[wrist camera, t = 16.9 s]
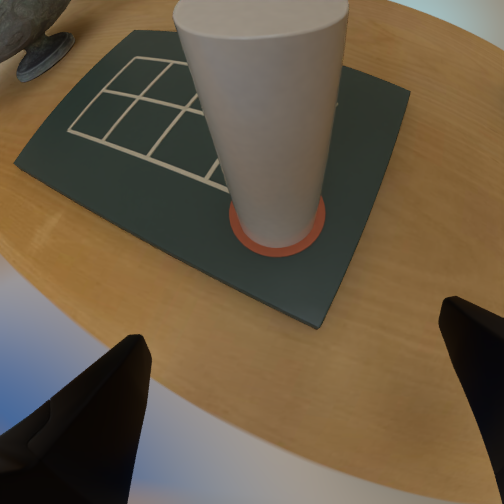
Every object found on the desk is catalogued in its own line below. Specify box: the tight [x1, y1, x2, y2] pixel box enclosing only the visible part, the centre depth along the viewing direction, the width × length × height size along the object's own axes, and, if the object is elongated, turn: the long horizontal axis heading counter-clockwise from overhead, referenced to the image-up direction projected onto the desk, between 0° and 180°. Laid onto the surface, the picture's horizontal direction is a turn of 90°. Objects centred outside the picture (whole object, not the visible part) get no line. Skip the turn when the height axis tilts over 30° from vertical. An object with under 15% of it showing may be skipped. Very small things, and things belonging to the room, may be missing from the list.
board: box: [14, 30, 410, 329], centre depth 23 cm, size 20×30×1 cm, turn 62°
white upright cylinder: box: [173, 0, 349, 248], centre depth 12 cm, size 5×5×13 cm
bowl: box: [0, 0, 75, 82], centre depth 24 cm, size 20×19×15 cm
